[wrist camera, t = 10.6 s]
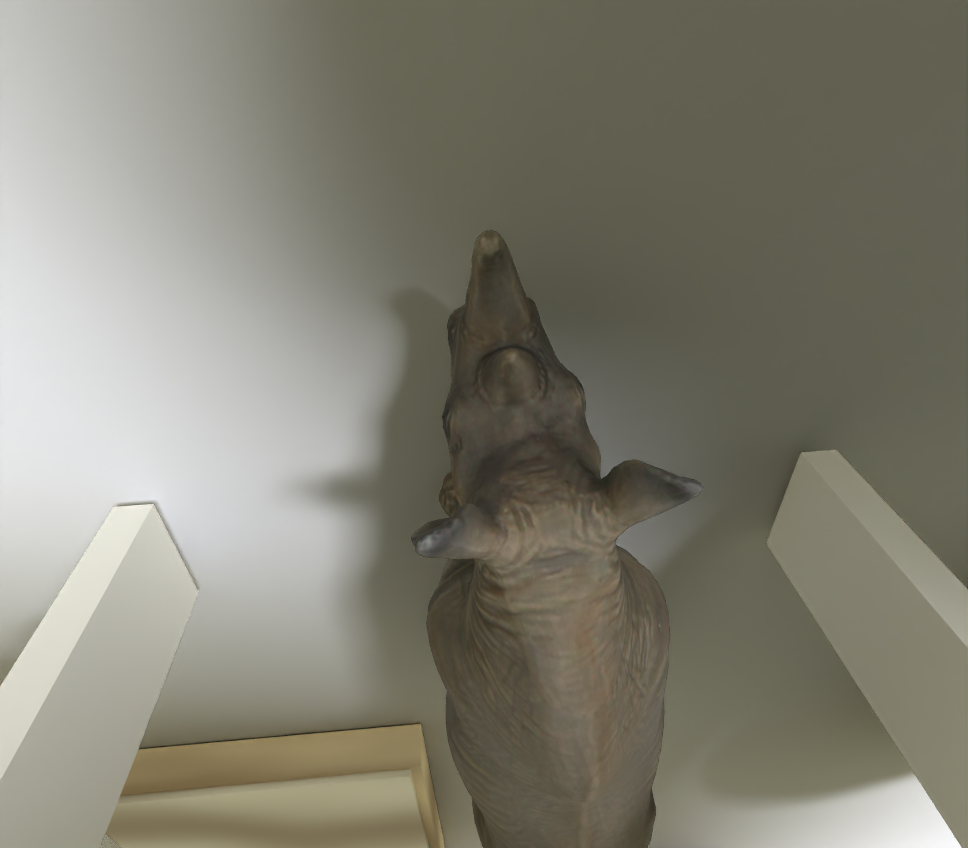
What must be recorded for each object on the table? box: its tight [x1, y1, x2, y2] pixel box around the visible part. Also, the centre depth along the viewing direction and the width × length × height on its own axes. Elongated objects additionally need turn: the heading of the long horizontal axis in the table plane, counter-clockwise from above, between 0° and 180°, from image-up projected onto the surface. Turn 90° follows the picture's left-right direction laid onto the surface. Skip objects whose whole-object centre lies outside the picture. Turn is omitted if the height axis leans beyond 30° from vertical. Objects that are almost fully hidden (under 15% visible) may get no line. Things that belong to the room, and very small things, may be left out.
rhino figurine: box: [411, 230, 703, 848], centre depth 10 cm, size 4×14×6 cm, turn 6°
